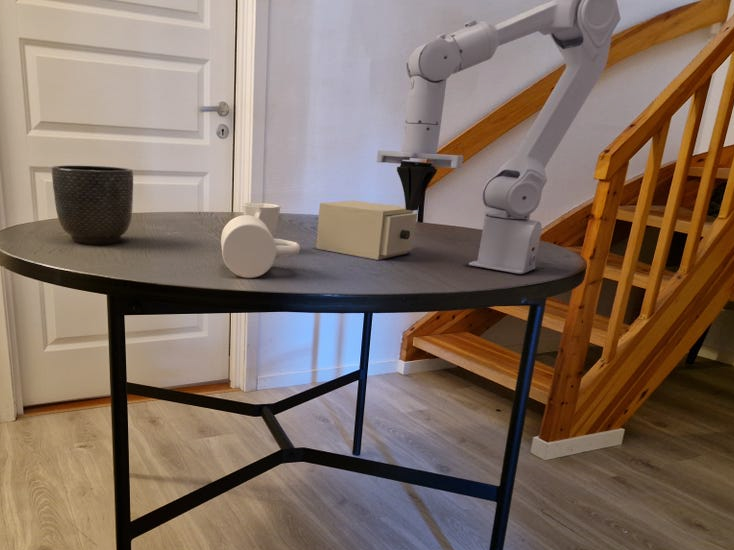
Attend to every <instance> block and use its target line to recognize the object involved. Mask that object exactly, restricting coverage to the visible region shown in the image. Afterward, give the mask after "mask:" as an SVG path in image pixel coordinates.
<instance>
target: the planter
mask: <svg viewBox="0 0 734 550" xmlns="http://www.w3.org/2000/svg"><path fill="white" fill-rule="evenodd" d="M51 180H52V181H51V182H52V189H53V197H54V198H53V199H54V205H55V210H56V215H57V220H58V222H59V225H60V227H61V228H62V229H63V231H64V232H65V233H66V234H68V235H69V236H70V237H71V239H72V240H73V241H74V242H75V243H78V244H83V245H96V246H97V245H99V246H100V245H111V244H116V243H117V242H119V240H120V239H121V237H122V236H123V235H124V234H125V233H126V232H127V231H128V229H129V228H130V225H131V223H132V222H131V221H132V218H133V217H132V215H133V205H134V204H133V203H134V170H133V169H132V168H126V167H115V166H105V165H103V166H101V165H53V166H52V167H51Z"/></svg>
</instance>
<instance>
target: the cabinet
mask: <svg viewBox="0 0 734 550" xmlns="http://www.w3.org/2000/svg"><path fill="white" fill-rule="evenodd" d="M402 213H403V214H408V213H414V211H412V210H406V206H401V205H394V204H385V203H376V202H369V201H360V200H354V199H353V200H341V201H329V202H319V207H318V221H317V234H316V249H317V250H320V251H325V252H326V251H327V252H333V253H337V254H343V255H347V256H348V255H349V256H354V257H359V258H366V259H371V260H376V261H379V260H384V259H387V258H393V257H397V256H402V255H406V254H408V252H409V251H405V252H400V253H396V254H391V255H387V256H385V255H380V254H381V245H382V236H383V227H384V218H385V216H386V215H394V214H402Z"/></svg>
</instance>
